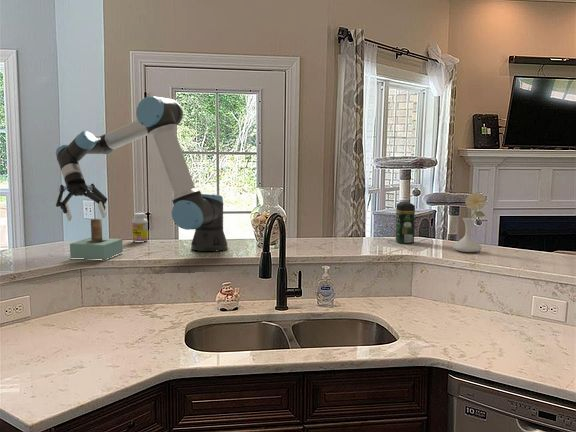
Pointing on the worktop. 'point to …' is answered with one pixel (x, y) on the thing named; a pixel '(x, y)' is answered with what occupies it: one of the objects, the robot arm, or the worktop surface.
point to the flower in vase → (467, 241)
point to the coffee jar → (405, 222)
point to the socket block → (96, 249)
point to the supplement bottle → (140, 227)
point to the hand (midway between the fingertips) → (87, 217)
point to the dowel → (96, 230)
